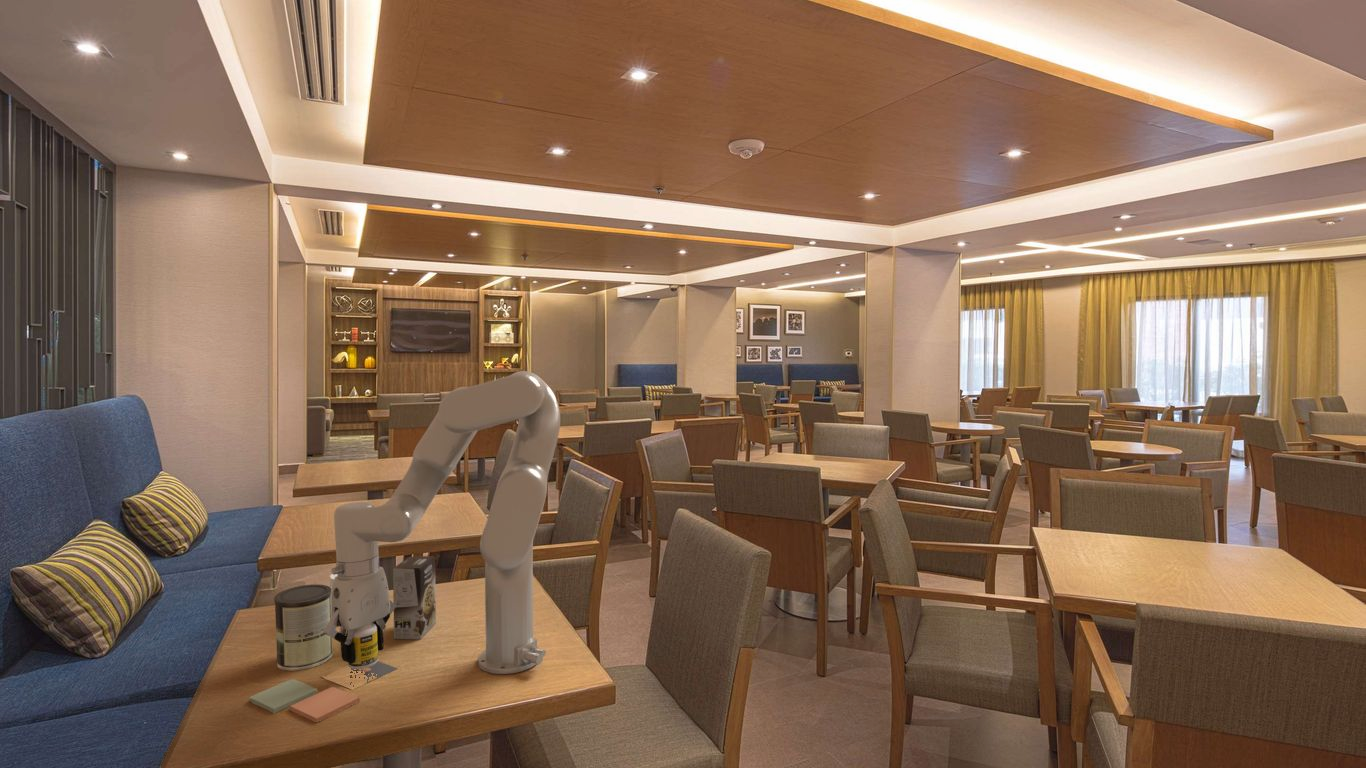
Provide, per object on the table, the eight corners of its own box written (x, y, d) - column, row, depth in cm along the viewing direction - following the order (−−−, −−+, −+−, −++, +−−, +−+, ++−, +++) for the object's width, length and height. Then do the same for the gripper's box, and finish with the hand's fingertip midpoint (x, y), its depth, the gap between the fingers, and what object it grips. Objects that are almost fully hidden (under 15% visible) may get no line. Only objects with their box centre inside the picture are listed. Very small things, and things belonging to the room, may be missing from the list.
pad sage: (317, 693, 128) (317, 689, 128) (274, 713, 121) (273, 708, 121) (292, 682, 132) (292, 678, 132) (249, 701, 125) (249, 697, 125)
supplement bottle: (362, 672, 132) (359, 623, 132) (342, 667, 135) (339, 619, 134) (384, 660, 137) (381, 612, 137) (365, 655, 140) (362, 608, 139)
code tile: (397, 670, 138) (397, 668, 138) (352, 692, 129) (352, 689, 129) (366, 658, 143) (366, 656, 143) (320, 678, 134) (320, 676, 134)
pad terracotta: (359, 702, 125) (359, 697, 125) (317, 722, 118) (316, 718, 118) (332, 690, 129) (332, 686, 129) (290, 710, 122) (290, 706, 122)
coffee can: (264, 666, 138) (261, 598, 138) (306, 645, 148) (304, 581, 147) (304, 674, 135) (301, 604, 134) (344, 652, 145) (342, 587, 144)
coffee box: (421, 639, 151) (420, 568, 150) (393, 639, 151) (391, 567, 151) (437, 623, 160) (436, 555, 159) (410, 622, 161) (408, 555, 160)
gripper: (328, 582, 126) (334, 678, 127) (407, 556, 140) (412, 642, 141) (304, 576, 129) (310, 669, 130) (384, 551, 144) (388, 635, 145)
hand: (363, 654), depth 136 cm, fingers closed on supplement bottle, 5 cm apart
